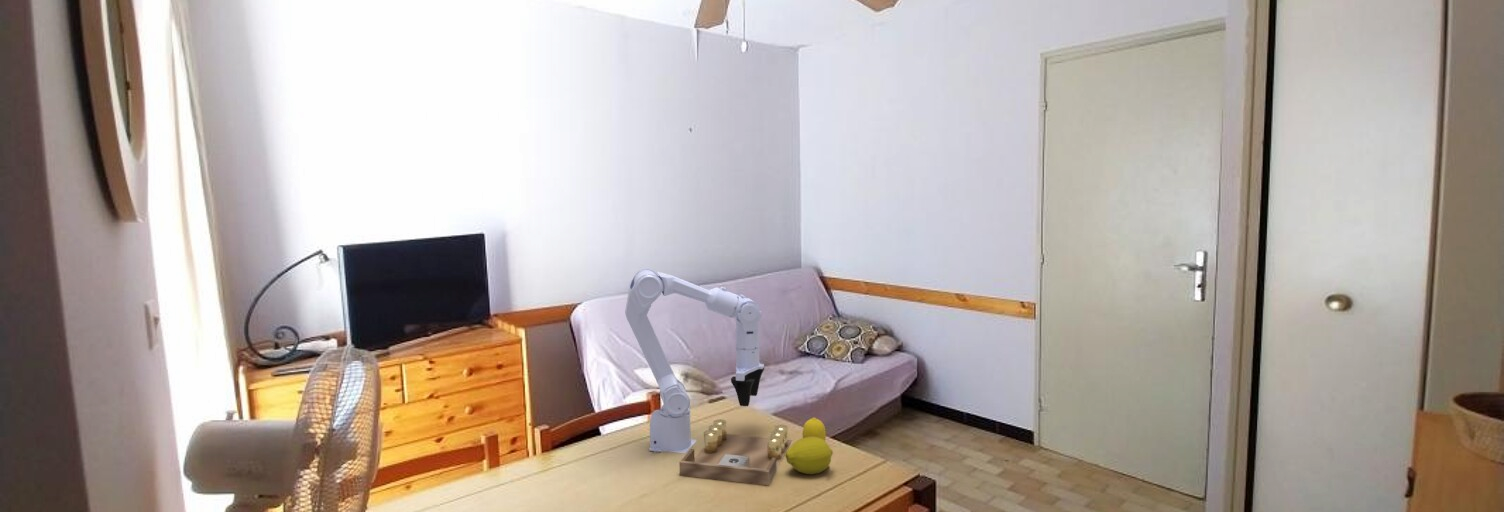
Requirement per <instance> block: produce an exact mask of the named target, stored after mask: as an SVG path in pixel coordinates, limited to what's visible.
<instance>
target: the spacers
mask: <svg viewBox="0 0 1504 512" xmlns="http://www.w3.org/2000/svg"><path fill="white" fill-rule="evenodd" d="M712 423H713V424H712V425H709V426H708V430H706V431H703V447H704V452H705V453H707V454H713V453H716V452H717V451H718V447H721V446H722V442H723V441H726V440H727V434H728V433H727V420H725V419H719V418H718V419H715V420H713V422H712ZM788 428H789V427H788V426H787V425H785V424H777V425H775V426H774V427H773V430H772V431H771V432H770V436H768V437H766V438H767V456H768V459H769V460H772V458H773V457H774V458H776V460H779V459H781V454H782V453H784V452H785V447H787V446H788V440H789V436H788V430H789V429H788Z"/></svg>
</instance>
